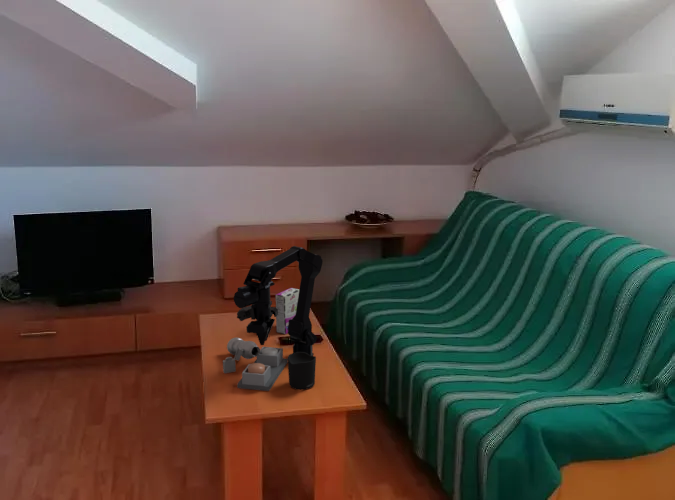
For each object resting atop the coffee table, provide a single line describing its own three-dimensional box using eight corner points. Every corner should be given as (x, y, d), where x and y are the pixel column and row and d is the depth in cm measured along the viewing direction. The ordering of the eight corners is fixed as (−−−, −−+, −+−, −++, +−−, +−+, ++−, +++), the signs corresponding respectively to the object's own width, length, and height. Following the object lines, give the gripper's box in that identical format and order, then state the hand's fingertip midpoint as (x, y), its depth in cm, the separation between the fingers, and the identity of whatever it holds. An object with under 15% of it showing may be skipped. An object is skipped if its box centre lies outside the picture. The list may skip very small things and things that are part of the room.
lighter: (224, 373, 238) (223, 352, 237) (223, 371, 240) (222, 350, 238) (243, 369, 242) (243, 348, 240) (242, 368, 243) (241, 347, 241)
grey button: (279, 358, 247) (279, 348, 246) (275, 364, 242) (275, 354, 241) (264, 357, 248) (264, 346, 247) (260, 363, 243) (260, 352, 242)
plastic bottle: (244, 344, 258) (267, 349, 241) (233, 358, 256) (255, 364, 239) (233, 333, 256) (255, 338, 239) (221, 347, 254) (243, 353, 236)
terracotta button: (266, 374, 232) (266, 363, 231) (262, 381, 226) (261, 370, 225) (251, 373, 233) (250, 362, 232) (246, 380, 227) (245, 369, 226)
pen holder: (288, 391, 225) (288, 363, 223) (287, 379, 234) (287, 352, 232) (316, 390, 226) (316, 362, 224) (314, 378, 235) (314, 351, 233)
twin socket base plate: (287, 362, 248) (287, 348, 247) (269, 391, 225) (268, 375, 224) (258, 360, 250) (258, 346, 249) (237, 388, 227) (236, 372, 226)
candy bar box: (291, 324, 287) (290, 287, 283) (300, 326, 285) (300, 289, 281) (275, 332, 278) (274, 294, 274) (285, 334, 275) (285, 296, 271)
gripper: (247, 290, 241) (249, 331, 245) (230, 308, 223) (232, 352, 227) (277, 291, 239) (279, 333, 243) (263, 310, 221) (264, 354, 225)
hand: (263, 342), depth 235 cm, fingers open, 3 cm apart
